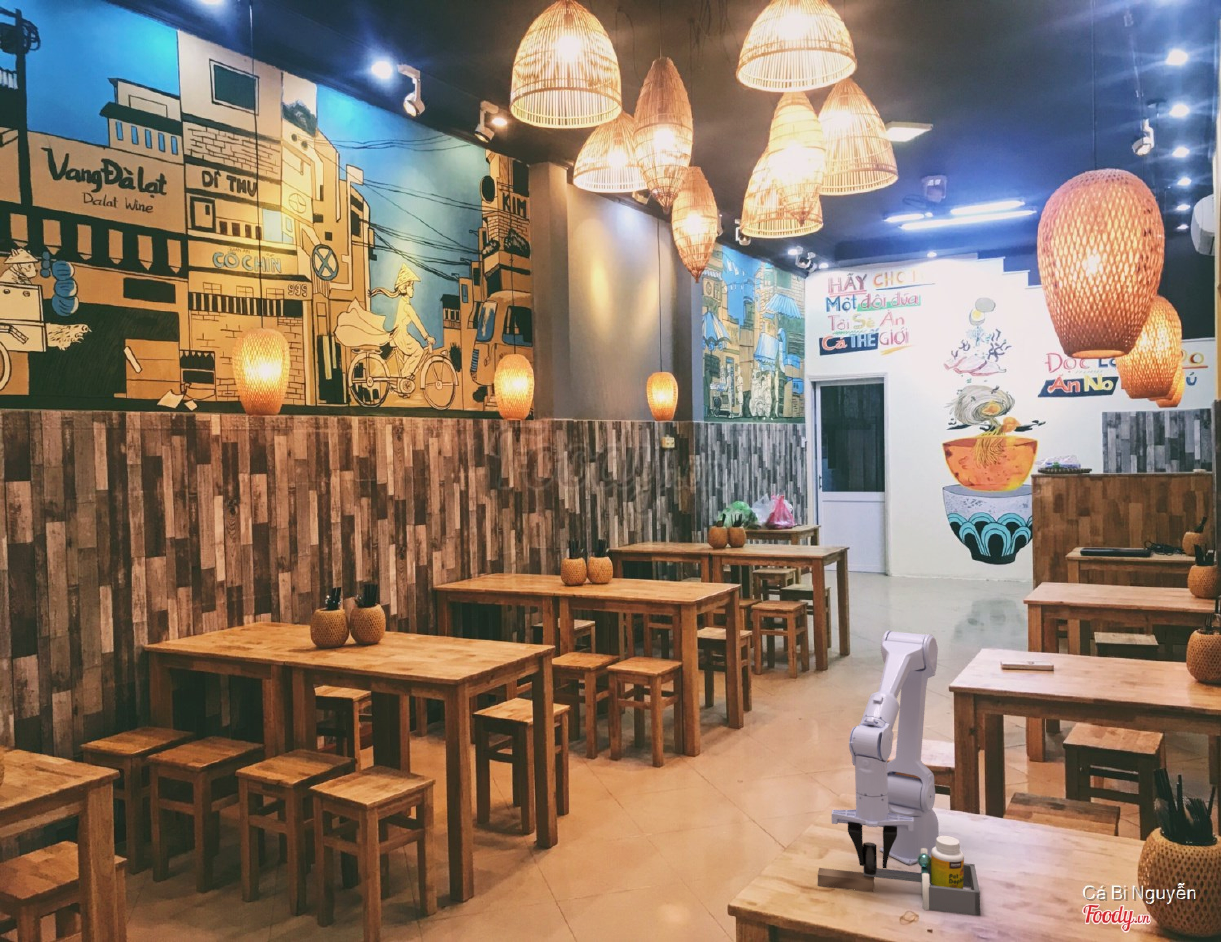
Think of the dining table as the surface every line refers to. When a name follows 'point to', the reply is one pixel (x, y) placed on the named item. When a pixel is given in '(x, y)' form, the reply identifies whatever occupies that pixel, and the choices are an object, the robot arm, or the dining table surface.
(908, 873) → the slider rail assembly
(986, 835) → the dining table surface
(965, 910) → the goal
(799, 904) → the dining table surface
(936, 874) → the supplement bottle
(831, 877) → the guide
